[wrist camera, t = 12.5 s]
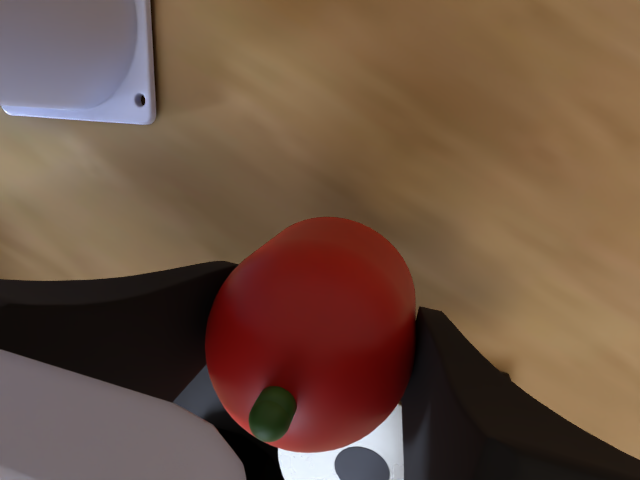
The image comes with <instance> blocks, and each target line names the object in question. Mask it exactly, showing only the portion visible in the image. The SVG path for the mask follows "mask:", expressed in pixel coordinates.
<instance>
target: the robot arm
mask: <svg viewBox="0 0 640 480" xmlns="http://www.w3.org/2000/svg"><path fill="white" fill-rule="evenodd" d="M142 95H144V97H145V100H146V101H145V104H144V105H142V103H141V97H142ZM0 105H1V106H2V108H3V110H4V111H5V112H6V113H7V114H9V115H16V116H30V117H44V118H58V119H71V120H85V121H99V122H113V123H127V124H141V125H149V124H152V123H153V122H154V121H155V119H156V97H155V78H154V60H153V41H152V23H151V4H150V0H0ZM238 265H239V264H234V263H230V262H226V261H214V262H207V263H201V264H195V265H190V266H185V267H180V268H175V269H170V270H164V271H158V272H152V273H146V274H141V275H134V276H127V277H118V278H108V279H96V280H70V281H23V280H3V279H0V480H246V475H245V470H244V465H243V463H242V462H241V460H240V458H239V457H238V456H237V455H236V453H235V452H234V451H233V449H232V448H231V447H230V446H229V444H228V443H227V442H226V441H225V439H224V438H223V437H222V435H221V434H220V433H219V432H218V430H217V429H216V428H215V427H214V425H213V424H211V423H209V422H207V421H205V420H204V419H202V418H200V417H198V416H196V415H195V414H193V413H191V412H189V411H188V410H186V409H184V408H182V407H180V406H179V405H177V404H175V403H173V401H174V400H175V399H176V398H177V397H178V396H179V394H180V393H181V392H182V391H183V390H184V389H185V388H186V387H187V386H188V384H189V383H190V382H191V381H192V380H193V379H194V378H195V377H196V375H197V374H198V373H199V372H200V371H201V370H202V369H203V368H204V367H205V365H206V364H207V363H206V354H205V335H206V327H207V321H208V317H209V314H210V311H211V308H212V305H213V302H214V299H215V297H216V295H217V293H218V291H219V290H220V288H221V286H222V285H223V283H224V282H225V280H226V279H227V278H228V276H229V275H230V273H231V272H232V271H233V270H234V269H235V268H236V267H237V266H238ZM401 403H402V433H403V460H404V480H640V460H639V459H636V458H634V457H632V456H630V455H628V454H626V453H624V452H622V451H620V450H618V449H617V448H615V447H613V446H611V445H609V444H608V443H606V442H604V441H602V440H600V439H598V438H597V437H595V436H593V435H591V434H589V433H588V432H586V431H584V430H582V429H581V428H579V427H577V426H576V425H574V424H572V423H571V422H569V421H567V420H566V419H564V418H563V417H561V416H560V415H558V414H557V413H555V412H554V411H552V410H551V409H549V408H548V407H546V406H544V405H543V404H541V403H540V402H538V401H537V400H536V399H534V398H533V397H531V396H530V395H529V394H527V393H526V392H525V391H523V390H522V389H521V388H520V387H518V386H517V385H516V384H514V383H513V382H512V381H511V380H509V379H508V378H507V377H506V376H504V375H503V374H502V373H501V372H500V371H499V370H498V369H496V368H495V367H494V366H493V365H492V364H491V363H490V362H489V361H488V360H487V359H486V358H485V357H484V356H483V355H482V354H481V353H480V352H479V351H478V350H477V349H476V348H475V347H474V346H473V345H472V344H471V343H470V342H469V341H468V340H467V339H466V338H465V337H464V336H463V334H462V333H461V332H460V331H459V330H458V329H457V328H456V327H455V325H454V324H453V323H452V322H451V321H450V320H449V319H448V317H447V316H446V315H445V314H444V313H443V312H442V311H438V310H433V309H429V308H425V307H420V306H419V310H418V314H417V318H416V348H415V359H414V365H413V370H412V374H411V377H410V380H409V382H408V385H407V387H406V390H405V392H404V395H403V396H402V398H401Z"/></svg>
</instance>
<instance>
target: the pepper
mask: <svg viewBox="0 0 640 480" xmlns="http://www.w3.org/2000/svg"><path fill="white" fill-rule="evenodd" d="M415 348H416V312H415V289H414V284H413V280H412V277H411V274H410V271H409V269H408V267H407V265H406V263H405V261H404V259H403V258H402V256H401V255H400V254H399V252H398V251H397V250H396V248H395V247H394V246H393V245H392V244H391V243H390V242H389V241H388V240H387V239H385V238H384V237H383V236H382V235H381V234H379V233H378V232H376V231H374V230H373V229H371V228H369V227H367V226H365V225H363V224H361V223H358V222H355V221H352V220H349V219H344V218H338V217H317V218H311V219H307V220H303V221H301V222H298V223H295V224H293V225H291V226H289V227H288V228H286V229H284V230H283V231H282V232H280V233H279V234H278V235H276V236H275V237H274V238H272V239H271V240H270V241H268V242H267V243H266V244H264V245H263V246H262V247H260V248H259V249H258V250H256V251H255V252H254V253H252V254H251V255H250V256H248V257H247V258H246V259H244V260H243V261H242V262H241V263H240V264H239V265H238V266H237V267H236V268H235V269H234V270H233V271H232V272H231V273H230V275H229V276H228V278H227V279H226V280H225V282H224V283H223V285H222V286H221V288H220V290H219V291H218V293H217V295H216V297H215V299H214V302H213V305H212V308H211V311H210V314H209V317H208V321H207V327H206V335H205V354H206V363H207V368H208V373H209V377H210V380H211V382H212V385H213V388H214V390H215V392H216V394H217V396H218V398H219V400H220V402H221V403H222V405H223V406H224V408H225V409H226V411H227V412H228V413H229V414H230V416H231V417H232V418H233V419H234V420H235V421H236V422H237V423H238V424H239V425H240V426H241V427H242V428H243V429H245V430H246V431H247V432H248V433H250V434H251V435H253V436H254V437H256V438H257V439H259V440H260V441H263V442H265V443H267V444H269V445H272V446H274V447H277V448H280V449H283V450H287V451H292V452H300V453H318V452H326V451H332V450H336V449H340V448H343V447H345V446H348V445H350V444H352V443H354V442H356V441H359V440H361V439H362V438H364V437H365V436H367V435H369V434H370V433H371V432H372V431H374V430H375V429H376V428H377V427H378V426H379V425H381V424H382V423H383V422H384V421H385V420H386V419H387V418H388V416H389V415H390V414H391V413H392V412H393V410H394V409H395V407H396V406H397V404H398V403H399V401H400V400H401V398H402V396H403V395H404V392H405V390H406V387H407V385H408V382H409V380H410V377H411V374H412V370H413V365H414V359H415Z"/></svg>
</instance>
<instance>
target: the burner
mask: <svg viewBox="0 0 640 480" xmlns="http://www.w3.org/2000/svg"><path fill="white" fill-rule="evenodd" d="M278 460H279V466H280V469H281V472H282V475H283V478H284V480H404V460H403V433H402V403H401V401H399V403H398V404H397V406H396V407H395V409H394V410H393V412H392V413H391V414H390V415H389V416H388V418H387V419H386V420H385V421H384V422H383V423H382V424H381V425H379V426H378V427H377V428H376V429H375V430H374V431H372V432H371V433H370V434H369V435H367V436H365V437H364V438H362V439H361V440H359V441H356V442H354V443H352V444H350V445H348V446H345V447H343V448H340V449H336V450H332V451H326V452H318V453H300V452H292V451H287V450H283V449H280V448H278Z"/></svg>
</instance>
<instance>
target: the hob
mask: <svg viewBox="0 0 640 480" xmlns="http://www.w3.org/2000/svg"><path fill="white" fill-rule="evenodd" d="M501 373H502V372H501ZM502 374H503V375H504V376H506V377H507V378H508V379H509V380H511V379H510V376H509V374H507V373H502ZM400 401H401V400H400ZM173 403H175V404H177V405H179V406H180V407H182V408H184V409H186V410H188V411H189V412H191V413H193V414H195V415H196V416H198V417H200V418H202V419H204V420H205V421H207V422H209V423H211V424H213V425H214V427H215V428H216V429H217V430H218V432H219V433H220V434H221V435H222V437H223V438H224V439H225V441H226V442H227V443H228V444H229V446H230V447H231V448H232V449H233V451H234V452H235V453H236V455H237V456H238V457H239V458H240V460H241V462H242V463H243V465H244V470H245V475H246V480H284V478H283V475H282V472H281V469H280V466H279V460H278V448H277V447H274V446H272V445H269V444H267V443H265V442H263V441H260V440H259V439H257V438H256V437H254V436H253V435H251V434H250V433H248V432H247V431H246V430H245V429H243V428H242V427H241V426H240V425H239V424H238V423H237V422H236V421H235V420H234V419H233V418H232V417H231V416H230V414H229V413H228V412H227V411H226V409H225V408H224V406H223V405H222V403H221V402H220V400H219V398H218V396H217V394H216V392H215V390H214V388H213V385H212V382H211V380H210V377H209V373H208V368H207V364H206V365H205V367H204V368H203V369H202V370H201V371H200V372H199V373H198V374H197V375H196V377H195V378H194V379H193V380H192V381H191V382H190V383H189V384H188V386H187V387H186V388H185V389H184V390H183V391H182V392H181V393H180V394H179V396H178V397H177V398H176V399H175V400H174V401H173Z"/></svg>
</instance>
